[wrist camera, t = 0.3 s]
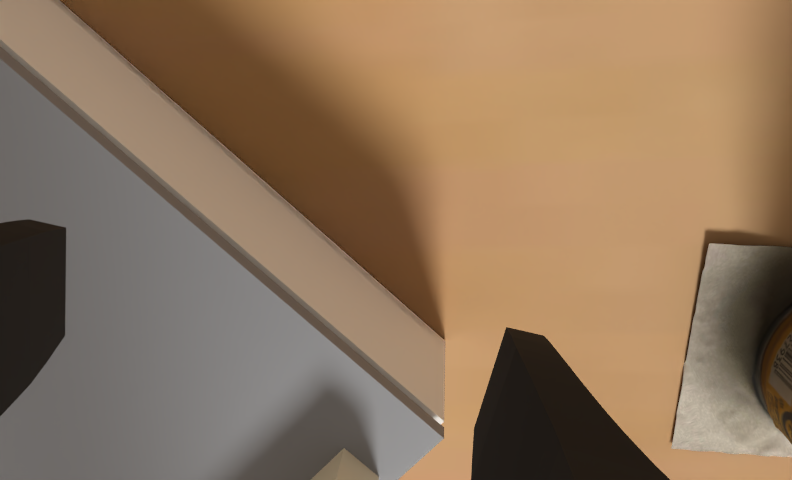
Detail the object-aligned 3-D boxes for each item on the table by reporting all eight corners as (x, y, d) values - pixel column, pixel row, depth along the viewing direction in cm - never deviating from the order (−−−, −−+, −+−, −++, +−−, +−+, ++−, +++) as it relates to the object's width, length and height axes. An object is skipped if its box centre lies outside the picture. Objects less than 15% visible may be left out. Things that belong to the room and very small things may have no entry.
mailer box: (194, 580, 26) (137, 700, 22) (-207, 273, 24) (-372, 332, 19) (445, 340, 23) (444, 421, 18) (3, -50, 20) (-135, -77, 15)
